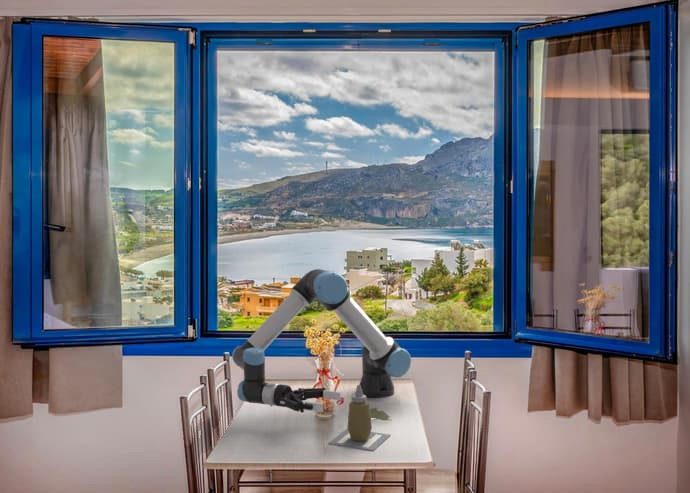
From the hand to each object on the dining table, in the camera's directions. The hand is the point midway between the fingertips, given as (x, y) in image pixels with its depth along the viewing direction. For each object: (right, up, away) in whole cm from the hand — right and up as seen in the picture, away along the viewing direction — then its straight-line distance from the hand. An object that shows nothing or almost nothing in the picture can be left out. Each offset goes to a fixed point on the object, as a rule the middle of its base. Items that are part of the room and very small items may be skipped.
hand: (331, 401), depth 204 cm
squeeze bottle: (+9, -11, -4) cm, 15 cm away
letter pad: (+9, -12, -4) cm, 15 cm away
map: (+16, -11, +18) cm, 26 cm away
